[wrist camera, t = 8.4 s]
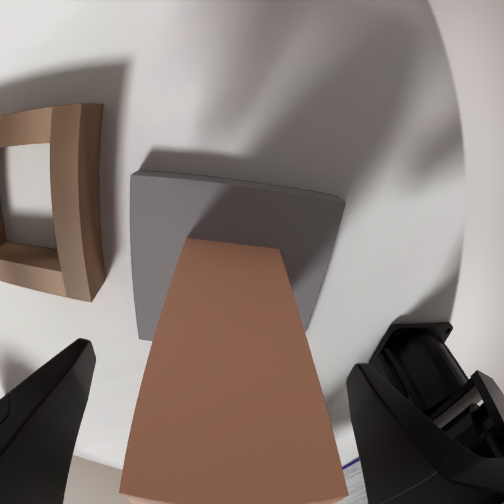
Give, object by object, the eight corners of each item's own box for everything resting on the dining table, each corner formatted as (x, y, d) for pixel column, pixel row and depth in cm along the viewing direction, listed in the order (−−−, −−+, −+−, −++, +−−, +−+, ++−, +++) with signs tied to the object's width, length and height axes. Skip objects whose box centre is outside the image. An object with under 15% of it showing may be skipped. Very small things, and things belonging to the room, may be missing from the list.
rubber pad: (337, 196, 12) (345, 203, 11) (293, 341, 16) (296, 353, 15) (138, 170, 11) (130, 175, 10) (143, 327, 15) (139, 338, 14)
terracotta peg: (279, 248, 12) (348, 495, 3) (262, 319, 14) (290, 522, 5) (186, 237, 12) (119, 492, 3) (183, 311, 13) (151, 517, 5)
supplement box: (335, 470, 31) (348, 530, 21) (359, 456, 29) (377, 521, 19) (362, 467, 33) (376, 522, 22) (386, 452, 30) (404, 511, 20)
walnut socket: (103, 104, 10) (81, 103, 8) (105, 280, 14) (91, 302, 12) (-17, 121, 8) (-39, 127, 7) (-3, 259, 12) (-19, 275, 11)
